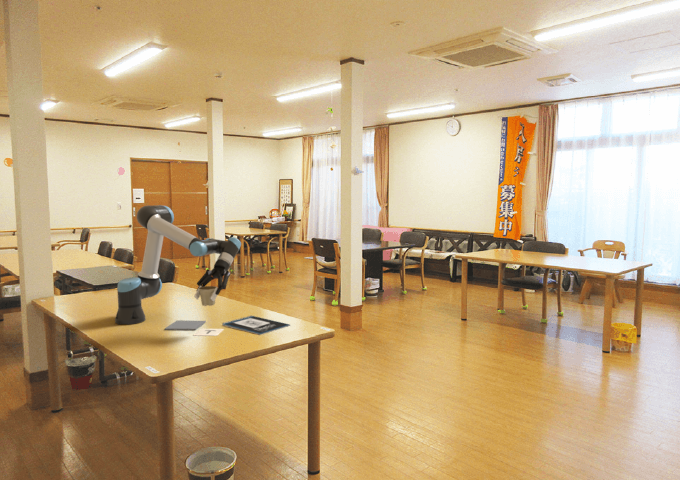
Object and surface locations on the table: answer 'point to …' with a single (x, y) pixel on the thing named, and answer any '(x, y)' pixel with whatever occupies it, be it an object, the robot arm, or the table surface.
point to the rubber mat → (185, 325)
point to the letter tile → (208, 332)
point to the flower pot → (207, 295)
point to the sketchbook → (255, 325)
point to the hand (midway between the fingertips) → (204, 298)
